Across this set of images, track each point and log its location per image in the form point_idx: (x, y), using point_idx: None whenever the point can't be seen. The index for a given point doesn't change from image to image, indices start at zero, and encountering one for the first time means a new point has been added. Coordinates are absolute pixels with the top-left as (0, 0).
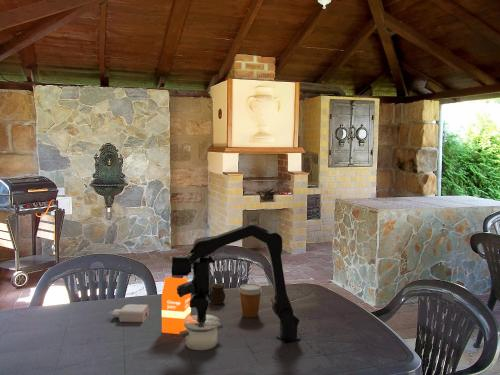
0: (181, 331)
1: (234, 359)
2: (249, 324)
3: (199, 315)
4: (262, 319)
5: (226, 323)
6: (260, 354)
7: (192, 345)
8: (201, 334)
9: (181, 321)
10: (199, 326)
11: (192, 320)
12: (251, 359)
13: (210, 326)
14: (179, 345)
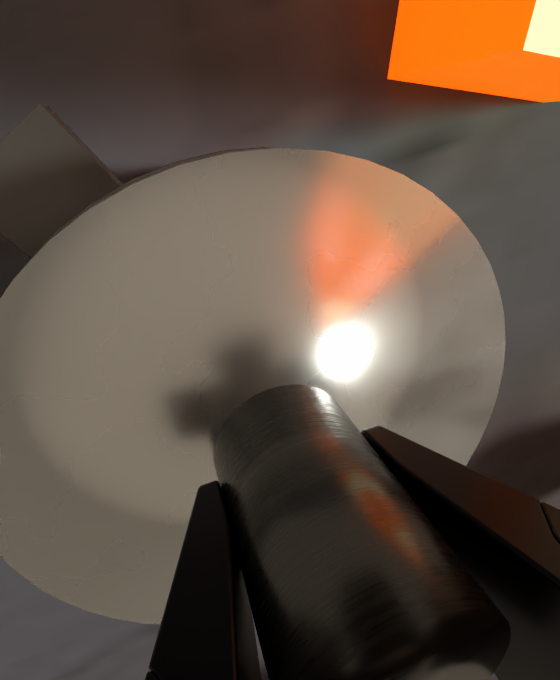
0: (50, 145)
1: (16, 600)
2: (511, 472)
3: (179, 594)
4: (556, 498)
5: (546, 358)
6: (145, 657)
7: None
8: None
9: (499, 9)
10: (41, 514)
11: (276, 314)
12: (61, 657)
13: (106, 614)
14: (111, 103)
